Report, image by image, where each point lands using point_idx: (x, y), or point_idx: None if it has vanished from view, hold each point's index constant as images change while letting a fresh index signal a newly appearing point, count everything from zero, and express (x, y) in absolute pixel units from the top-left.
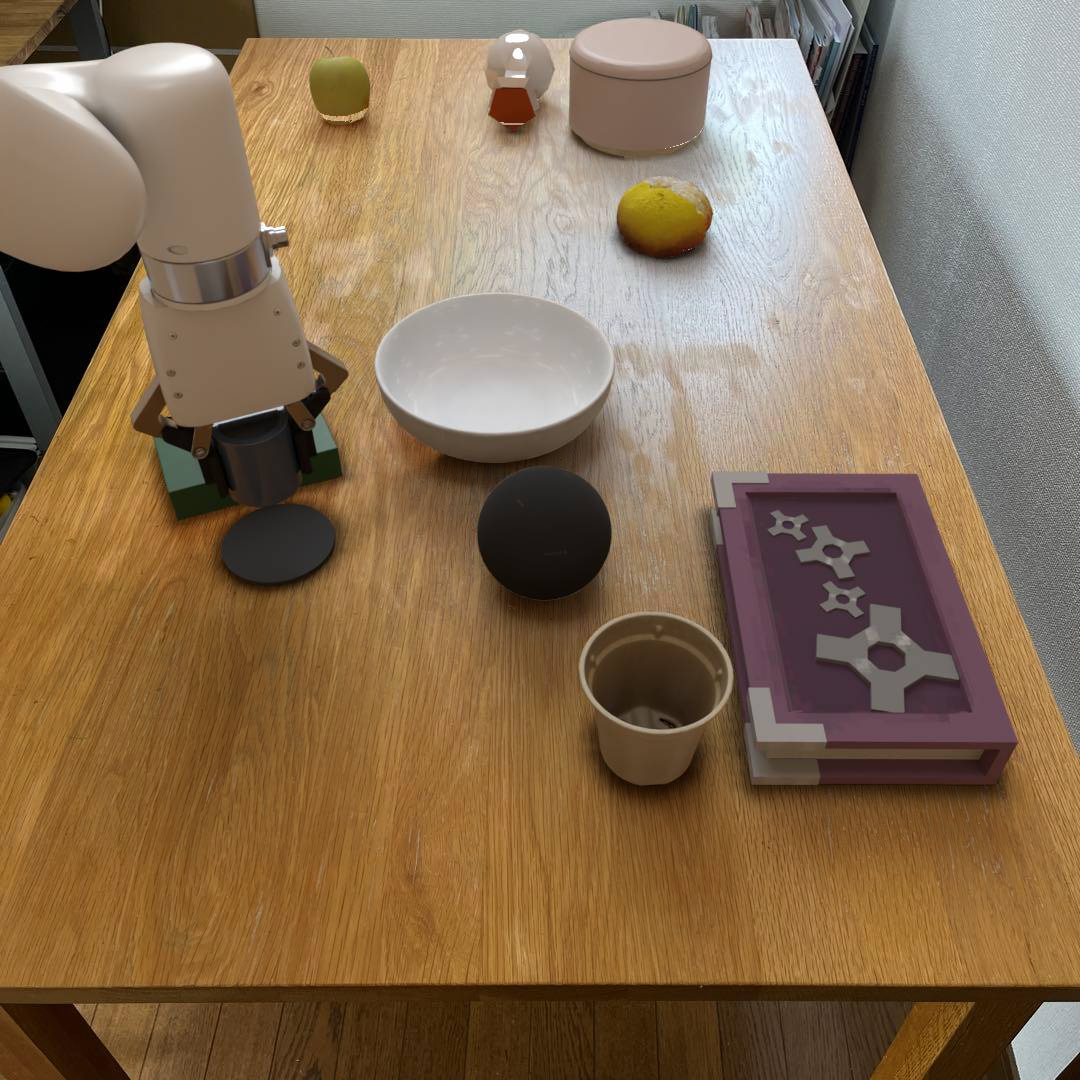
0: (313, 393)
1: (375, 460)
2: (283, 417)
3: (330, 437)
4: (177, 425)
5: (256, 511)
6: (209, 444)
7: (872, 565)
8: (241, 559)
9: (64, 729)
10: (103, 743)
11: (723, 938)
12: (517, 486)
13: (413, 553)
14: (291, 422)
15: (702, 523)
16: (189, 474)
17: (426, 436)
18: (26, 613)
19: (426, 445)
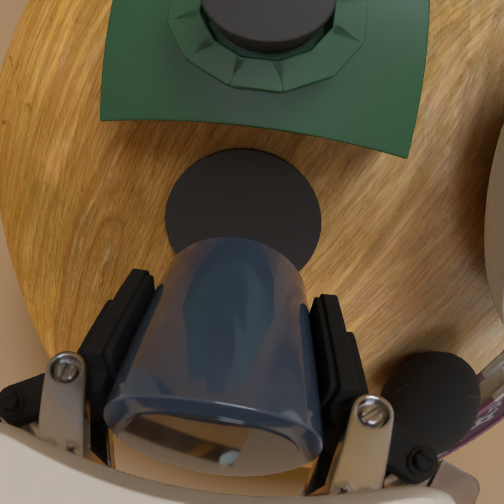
0: (384, 487)
1: (431, 144)
2: (295, 463)
3: (411, 125)
4: (35, 425)
5: (234, 154)
6: (111, 434)
7: (482, 423)
8: (187, 234)
9: (50, 314)
10: (74, 336)
11: (311, 463)
12: (432, 448)
13: (366, 308)
14: (323, 409)
15: (499, 352)
16: (138, 87)
17: (491, 265)
18: (5, 196)
19: (484, 229)
